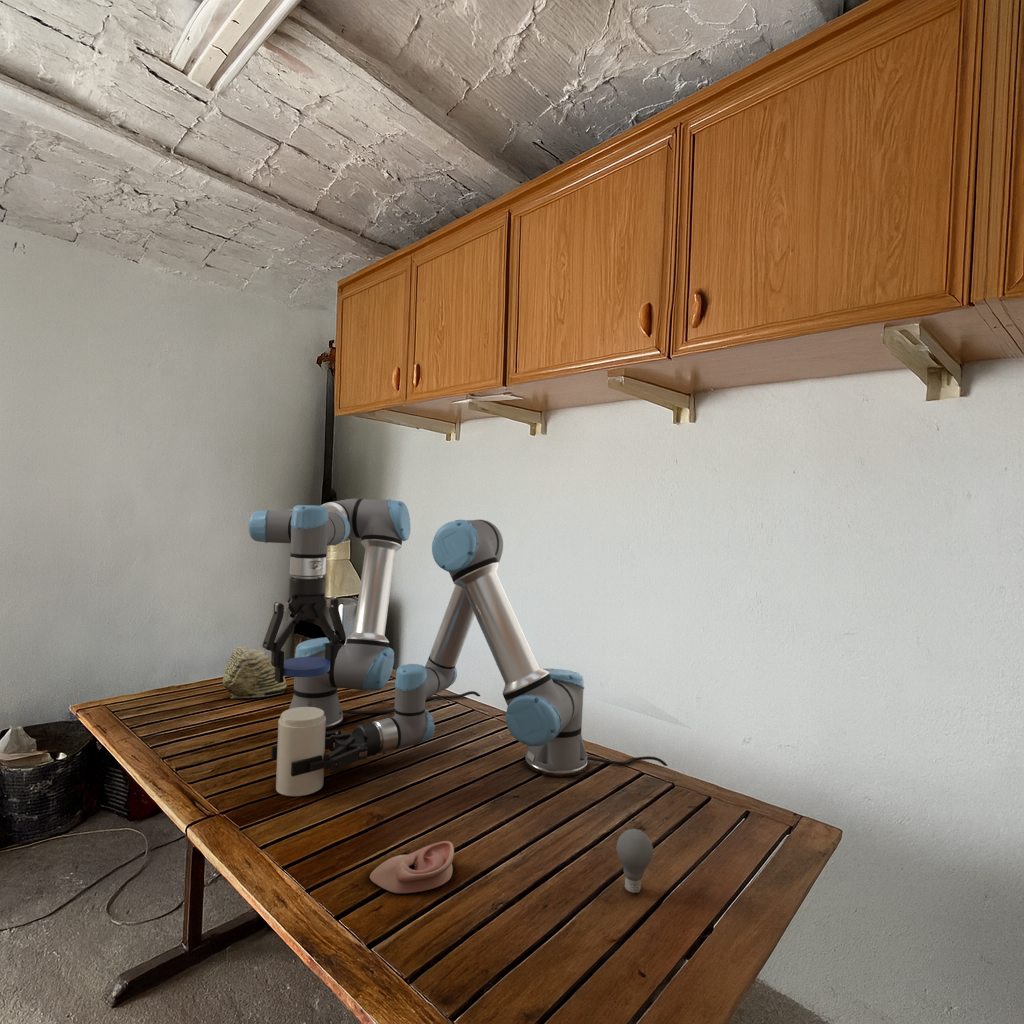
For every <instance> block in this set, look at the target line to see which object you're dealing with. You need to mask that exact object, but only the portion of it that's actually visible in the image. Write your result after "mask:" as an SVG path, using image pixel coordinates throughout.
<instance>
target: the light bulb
mask: <svg viewBox="0 0 1024 1024" xmlns="http://www.w3.org/2000/svg"><path fill="white" fill-rule="evenodd" d="M615 849H616V854H617V857H618V859H619V861H620V863H621V865H622V867H623V873H624V874H623V875H624V876H625V878H624V888H625V890H627V891H628V892H630V893H634V894H635V893H639V892H640V891H641V889H642V887H641V886H642V879H643V877H644V875H645V871H646V868H647V867H648V866H649V864H650V863H651V861H652V859H653V855H654V847H653V843H652V841H651V838H649V836H648V835H647V834H646V833H645V832H643V831H642V830H641V829H636V828H629V829H627V830H625V831H623V832H622V833H621V834H620V835H619V837H618V839H617V841H616V847H615Z"/></svg>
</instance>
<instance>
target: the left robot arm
mask: <svg viewBox="0 0 1024 1024" xmlns="http://www.w3.org/2000/svg"><path fill="white" fill-rule="evenodd" d="M248 533H249V536H250V538H251V539H252V540H253V541H254V542H259V543H265V544H268V543H271V544H273V543H274V544H290V557H289V575H290V576H291V577H290V578H289V583H288V587H289V588H288V600H287V601H286V602H278V601H275V602H274V603H273V614H272V617H271V619H270V622H269V625H268V627H267V630H266V634H265V636H264V639H263V641H262V649H264V650H267V651H270V652H271V654H270V655H271V657H270V658H271V664H272V666H273V667H275V680H276V681H277V682H279V683H283V676H285V675H284V660H285V651H284V650H282V649H283V647H284V645H285V644H286V642H287V640H288V639H289V637H290V636H291V634H292V633H293V631H294V629H295V628H296V626H297V625H298V624H299V623H300V621H306V620H308V619H309V620H316V623H317V624H318V625H319V627H320V629H321V631H322V632H323V634H324V636H325V637H317V638H312V639H307V640H304V641H302V642H299V643H298V644H297V645H296V647H295V652H294V653H295V654H294V658H297V657H320V658H325V659H327V660H329V661H330V671H329V672H327V673H325V674H322V675H318V676H312V677H293V695H292V696H293V697H292V699H291V702H290V704H289V708H288V709H292V708H297V707H315V708H319V709H321V710H323V711H324V716H325V717H326V731H329V730H332V729H335V728H337V727H339V726H340V725H342V723H343V722H344V715H345V714H346V715H347V714H348V715H381V714H382V715H383V714H389V713H395V707H394V708H389V709H381V710H352V709H350V710H349V709H342V706H341V702H340V699H339V695H338V689H346V690H358V691H364V692H368V691H375V692H377V691H380V690H382V689H383V688H384V687H385V686H386V685H387V684H388V682H389V680H390V677H391V675H392V672H393V668H394V663H395V652H394V649H392V648H391V647H389V646H390V641H389V639H388V638H387V637H386V636H385V634H386V626H387V620H388V611H389V604H390V595H391V589H392V580H393V572H394V565H395V558H396V553H397V552H398V551H399V550H400V549H402V545H403V542H406V541H408V540H409V538H410V536H411V518H410V512H409V509H408V507H407V505H406V503H404V502H403V501H401V500H393V499H390V498H389V499H375V498H373V499H371V498H347V499H340V500H335V501H329V502H325V503H323V504H321V505H311V504H307V505H306V504H305V505H303V504H297V505H294V506H293V508H291V509H282V510H269V509H265V510H256V511H254V512H253V513H252V514H251V516H250V517H249V520H248ZM348 538H354V539H355V538H356V539H361V540H360V544H361V546H363V547H364V556H363V562H362V563H363V564H362V571H361V577H360V585H359V591H358V598H357V605H356V612H355V619H354V626H353V631H352V633H351V634H350V635H348V636H347V634H346V631H345V628H344V625H343V621H342V617H341V614H340V610H339V604H340V603H339V602H340V601H339V599H337V598H335V597H333V596H331V597H329V598H326V585H327V583H326V581H327V578H326V577H325V575H326V574H327V553H328V552H327V550H328V547H330V546H337V545H339V544H342V543H344V542H345V541H346V540H347V539H348ZM325 607H326V608H328V613H329V617H330V619H331V623H332V626H333V629H332V627H331V625H330V623H329V622H328V620H327V618H326V615H325V614H324V612H323V610H324V609H325ZM287 609H288V610H289V611H290V612H289V614H288V616H287V617H286V621H285V623H284V624H283V625H282V621H283V618H284V616H285V615H284V614H285V613H286V612H287ZM281 625H282V627H281ZM280 627H281V629H280ZM279 630H280V631H279ZM345 640H346V641H345ZM342 641H345V644H341V642H342ZM469 695H473V696H474V695H475V696H476V697H481V694H480V693H478V692H477V691H473V690H469V691H467V692H466V691H465V692H464V693H460V694H452V695H451V694H449V695H432V696H430V697H429V698H427V699H426V700H425V702H426V701H432V700H441V699H442V700H443V699H459V698H463V697H466V696H469Z"/></svg>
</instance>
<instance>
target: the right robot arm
mask: <svg viewBox="0 0 1024 1024" xmlns="http://www.w3.org/2000/svg"><path fill="white" fill-rule="evenodd" d="M503 551H504V539H503V535H502V533H501V531H500V529H499V528H498V527H497V526H496V525H495V524H494V523H492V522H491V521H489V520H485V519H455V520H452V521H448V522H446V523H444V524H443V525H441V526H440V527H439V528H438V529H437V530H436V532H435V534H434V536H433V539H432V542H431V554H432V558H433V560H434V562H435V563H436V565H437V566H438V567H439V569H442V570H444V571H445V572H447V573H449V575H450V578H451V580H452V582H453V584H454V588H453V591H452V593H451V596H450V599H449V601H448V604H447V607H446V609H445V612H444V615H443V618H442V621H441V623H440V626H439V628H438V631H437V634H436V637H435V640H434V642H433V645H432V648H431V650H430V653H429V655H428V658H427V661H426V663H425V665H423V664H419V663H407V664H401V665H400V666H398V667H397V668H396V671H395V672H396V673H395V681H394V708H395V712H393V714H394V715H393V716H391V717H386V718H382V719H378V720H374V721H372V722H371V721H370V722H366V723H365V722H364V723H361V724H357V725H356V726H355V727H354V729H353V731H352V732H351V733H350V732H349V733H348V732H346V733H345V732H344V733H342V729H335V730H332V731H326V734H325V751H326V750H329V751H330V752H329V753H326V752H325V753H324V759H322V756H321V755H320V756H316V757H312V758H308V759H304V760H300V761H296V762H292V763H291V776H292V777H293V776H297V775H301V774H304V773H308V772H312V771H316V770H319V769H322V768H323V769H324V770H329V772H330V773H331V772H332V773H333V772H336V771H338V770H340V769H341V770H342V769H343V768H345V767H347V766H350V765H353V764H354V763H356V762H359V761H362V760H367V759H368V758H370V757H374V756H376V755H380V754H384V755H385V754H386V753H388V752H391V751H395V750H398V749H402V748H407V747H411V746H417V745H419V744H421V743H422V744H423V743H424V742H426V741H430V739H432V737H433V736H434V733H435V730H436V729H435V727H436V726H435V723H434V717H433V715H432V714H431V713H430V712H429V711H428V710H426V701H425V700H426V699H427V698H429V697H432V696H435V695H436V694H438V693H440V692H442V691H445V690H447V689H448V688H450V687H451V686H452V685H453V684H454V683H455V682H456V680H457V677H458V672H457V667H456V666H457V663H458V660H459V658H460V655H461V653H462V651H463V647H464V645H465V642H466V640H467V638H468V634H469V632H470V629H471V627H472V624H473V621H474V619H476V621H477V623H478V625H479V628H480V630H481V632H482V635H483V637H484V638H485V639H484V640H485V641H486V644H487V646H488V648H489V650H490V653H491V655H492V657H493V659H494V661H495V664H496V666H497V668H498V671H499V672H500V676H501V678H502V680H503V682H504V687H503V690H502V692H501V693H502V696H503V699H504V701H505V703H506V705H507V707H506V712H505V716H504V717H505V723H506V727H507V729H508V731H509V733H510V734H511V736H512V737H513V738H514V739H515V740H516V741H518V742H519V743H521V744H524V745H526V746H527V748H526V752H525V757H524V758H525V759H524V762H525V765H526V766H527V768H529V769H530V770H531V771H533V772H535V773H538V774H540V775H544V776H550V777H556V778H557V777H561V778H563V777H573V776H577V775H579V774H580V775H581V774H582V773H584V772H585V771H586V770H588V761H594V762H599V763H605V764H611V765H617V766H619V765H620V766H622V765H628V764H630V763H632V762H636V761H644V760H651V761H657V762H658V763H660V764H662V765H663V766H665V767H667V766H669V765H668V764H667V763H666V762H665V761H664V760H663V759H661V758H659V757H656V756H650V755H648V756H647V755H646V756H637V757H630V758H629V759H627V760H624V761H623V760H622V761H617V760H610V759H605V758H600V757H594V756H593V757H592V756H588V754H587V751H586V747H585V743H584V739H583V735H582V729H583V728H582V726H583V710H584V709H583V708H584V707H583V706H584V689H585V685H584V683H585V681H584V677H583V676H584V675H582V674H581V673H579V672H576V671H574V670H568V669H564V668H563V669H562V668H550V667H549V668H548V667H547V668H541V667H540V666H539V664H538V662H537V660H536V657H535V655H534V653H533V651H532V649H531V646H530V644H529V642H528V639H527V637H526V635H525V633H524V631H523V628H522V626H521V624H520V622H519V620H518V618H517V615H516V613H515V611H514V608H513V607H512V605H511V602H510V600H509V598H508V595H507V593H506V591H505V589H504V586H503V585H502V582H501V580H500V577H499V575H498V574H497V573H498V568H499V566H500V561H501V558H502V556H503ZM270 753H271V754H270V755H271V756H270V759H271V760H277V744H275V745H271V751H270Z"/></svg>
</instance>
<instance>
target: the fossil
mask: <svg viewBox="0 0 1024 1024" xmlns="http://www.w3.org/2000/svg"><path fill="white" fill-rule="evenodd" d="M222 676H223V677H222V685H223V687H224V688H225V690H226V691H228V693H229V698H230V699H250V698H264V697H271V696H275V695H281V694H284V693H285V691H286V689H287V687H288V686H287V680H286V678H285V677H286V676H285V675H283V683H279V682H277V681H276V680H275V667H273V666H272V664H271V657H270V656H269V655H268V654H267V653H266V652H265V649H264V648H260V647H258V648H251V647H247V646H246V647H245V646H238V647H237V648H236V649H235V650H233V651H232V653H231V656H230V657H229V659H228V660H227V663H226V666H225V668H224V671H223V675H222Z"/></svg>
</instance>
